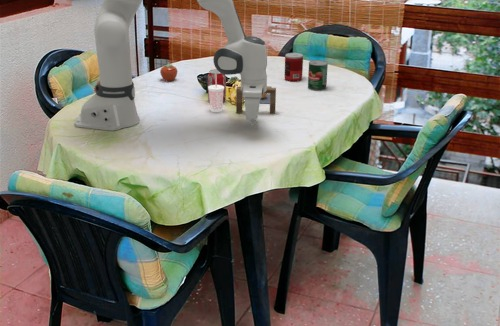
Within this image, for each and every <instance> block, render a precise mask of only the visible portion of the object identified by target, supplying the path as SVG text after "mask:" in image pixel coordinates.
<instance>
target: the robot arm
mask: <svg viewBox="0 0 500 326" xmlns="http://www.w3.org/2000/svg"><path fill="white" fill-rule="evenodd" d="M196 1H197V3H198V4H199V6H200V7H201V8H203V9H204V10H206V11H208V12H211V13H213V14H215V15H216V16H217V17H218V18H219V20H220V22H221V25H222V28H223V30H224V32H225V33H224V34H225V36H226V38H227V44H225V45H224V46H222V47H220V48H218V49H217V50H216V51H215V53H214V54H213V65H214V67H215V69H217V70H218V71H219V72H220V73H222V74H225V75H226V76H227V75H228V76H229V75H237V74H239V75H240V87H241V91H242V98H243V97H244V100H245V103H244V108H245V117H246V120H248V121H250V126H255V125H256V123H257V120H258V116H259V110H260V99H261V98H262V95H263V94H264V92H266V90H267V86H268V74H267V66H268V49H267V44H266V42H265V41H264V40H263V39H262V38H260V37H257V36H250V35H248V36H247V35H246V34H245V31H244V28H243V25H242V23H241V20H240V17H239V16H240V15H239V14H238V11H237V8H236V6H235V2H233V1H234V0H196ZM142 2H143V0H104V1H103V2H102V4H101V7H100V9H99V12H98V14H97V17H96V18H95V24H94V27H93V28H94V29H93V31H94V41H95V47H96V56H97V63H98V73H99V80H98V81H97V82H96V84H95V86H94V88H93V91H94V93H95V94H93V96H91V97H90V98H89V99H87V100H86V101H85V102H84V103H83V105H82V107H81V110H80V114H79V116H77V117H76V118H75V120H74V126H75V127H76V128H83V129H84V128H85V129H94V130H102V131H103V130H104V131H110V132H112V131H114V132H115V131H118V130H121V129H124V128H130V127H133V126H135V125H137V124H138V123H140V122H141V120H140V116H139V113H138V111H137V107H136V102H135V98H136V92H135V84H134V81H133V72H132V71H133V69H132V58H131V47H130V25H132V21H133V20H134V18H135V15H136V13H137V12H138V9H139V7H140V6H141V4H142Z"/></svg>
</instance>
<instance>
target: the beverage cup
mask: <svg viewBox="0 0 500 326" xmlns="http://www.w3.org/2000/svg"><path fill="white" fill-rule="evenodd" d="M208 90H209V99H210V100H209V99H208V100H209V110H210V112H213V113H221V112H222V111H223V107H224V106H223V104H224V101H223V90H224V86H222V85H217V74H215V85H211V86H208V85H207V91H208Z"/></svg>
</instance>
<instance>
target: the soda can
mask: <svg viewBox="0 0 500 326" xmlns="http://www.w3.org/2000/svg"><path fill="white" fill-rule="evenodd" d="M215 74H217V85H222V86H224V90H223V102H224V101H226V97H227V80H226V79H227V75H225V74H222V73H220V72H219V71H218V70H217V69H216V68H215V69H211V70H209V72H208V74H207V87H208V86H211V85H215ZM207 98H208V101H210V99H209V90H208V89H207Z"/></svg>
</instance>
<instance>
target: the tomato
mask: <svg viewBox="0 0 500 326" xmlns="http://www.w3.org/2000/svg"><path fill="white" fill-rule="evenodd" d="M159 73H160V75H161V78H162V79H163V80H164V81H165V82H174V80H175V79H176V78H177V75H178V68H177V67H176V66H174V65H173V64H171V62H167V64H164V65H163V66H162V67H161V68H160V72H159Z"/></svg>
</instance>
